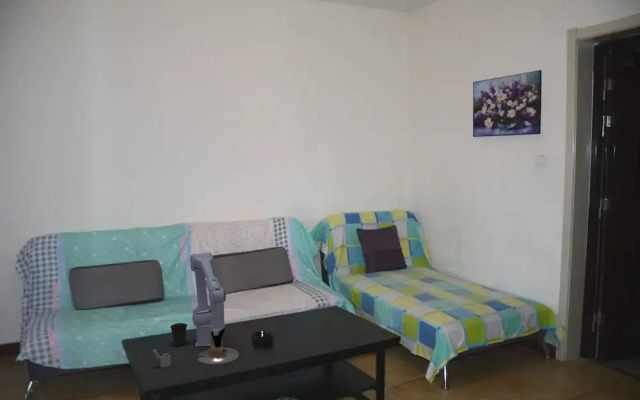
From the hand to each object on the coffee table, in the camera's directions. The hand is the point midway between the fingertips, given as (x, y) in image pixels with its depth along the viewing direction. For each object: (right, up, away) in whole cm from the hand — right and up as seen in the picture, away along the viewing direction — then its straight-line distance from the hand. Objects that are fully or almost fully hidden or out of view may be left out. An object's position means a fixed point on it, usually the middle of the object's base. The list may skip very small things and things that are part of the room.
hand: (218, 345), depth 230 cm
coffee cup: (-22, -4, +17) cm, 28 cm away
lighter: (-22, -6, -10) cm, 25 cm away
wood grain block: (-1, -3, 0) cm, 3 cm away
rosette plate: (0, -5, 0) cm, 5 cm away
